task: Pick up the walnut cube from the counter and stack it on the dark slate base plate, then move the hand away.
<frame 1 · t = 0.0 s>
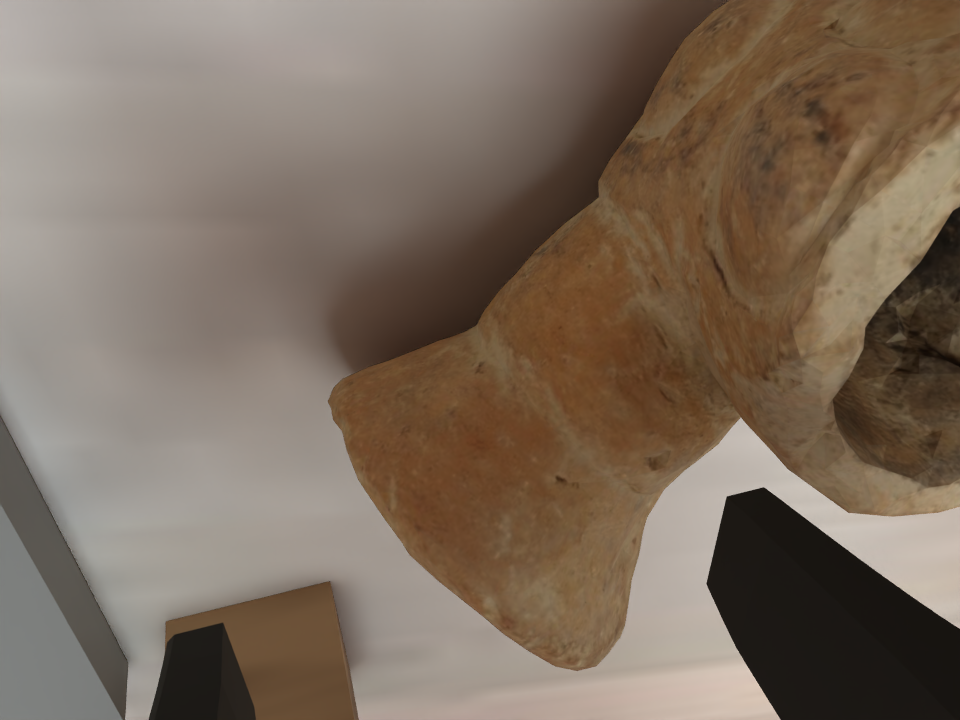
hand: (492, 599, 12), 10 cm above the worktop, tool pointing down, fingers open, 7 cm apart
walnut cube: (264, 645, 27), on the worktop
pipe: (600, 209, 21), on the worktop
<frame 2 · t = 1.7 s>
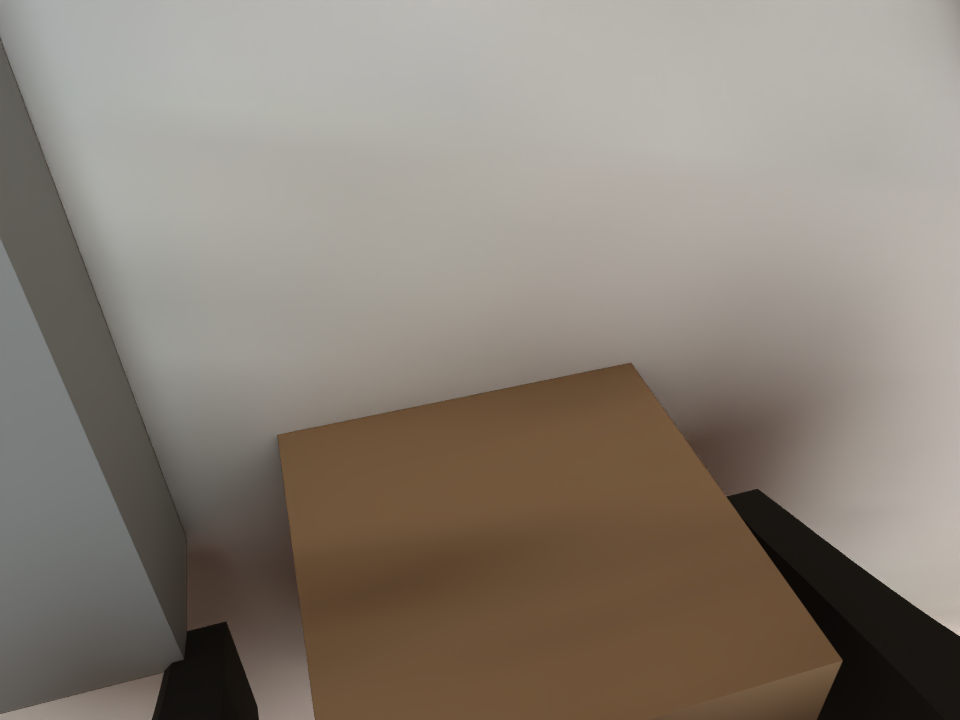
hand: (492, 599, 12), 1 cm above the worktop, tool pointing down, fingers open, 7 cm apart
walnut cube: (466, 516, 13), on the worktop
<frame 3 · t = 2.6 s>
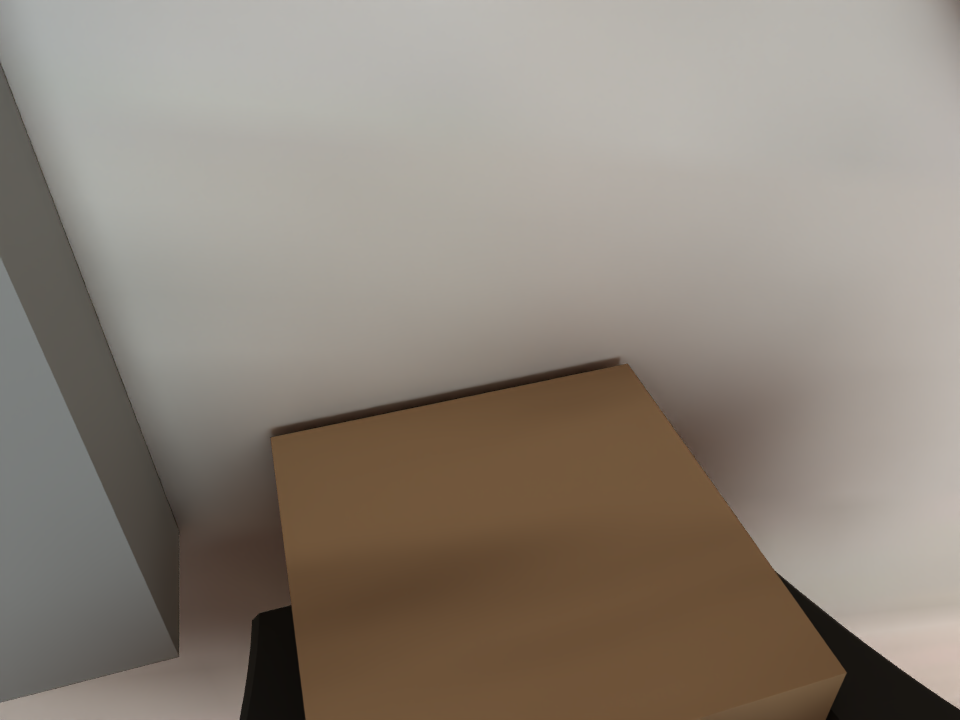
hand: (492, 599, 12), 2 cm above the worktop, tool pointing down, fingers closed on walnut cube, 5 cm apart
walnut cube: (464, 522, 13), on the worktop, touching gripper
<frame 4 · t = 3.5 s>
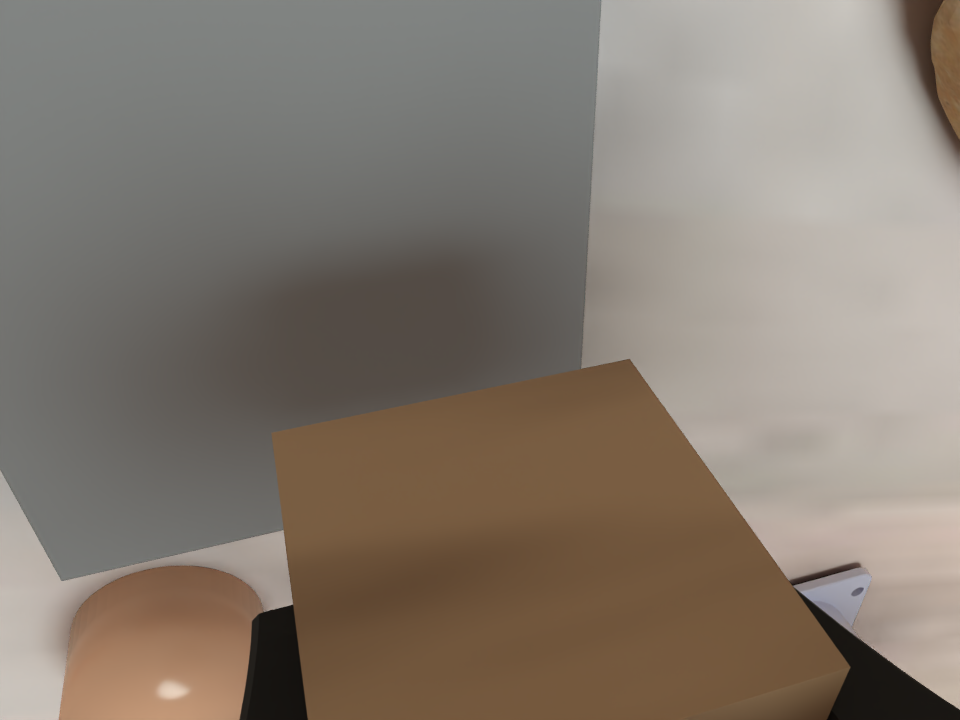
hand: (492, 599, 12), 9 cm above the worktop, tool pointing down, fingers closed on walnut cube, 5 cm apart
walnut cube: (465, 518, 13), point 7 cm above the worktop, touching gripper
slate base: (280, 253, 17), on the worktop
terracotta puck: (170, 623, 23), on the worktop
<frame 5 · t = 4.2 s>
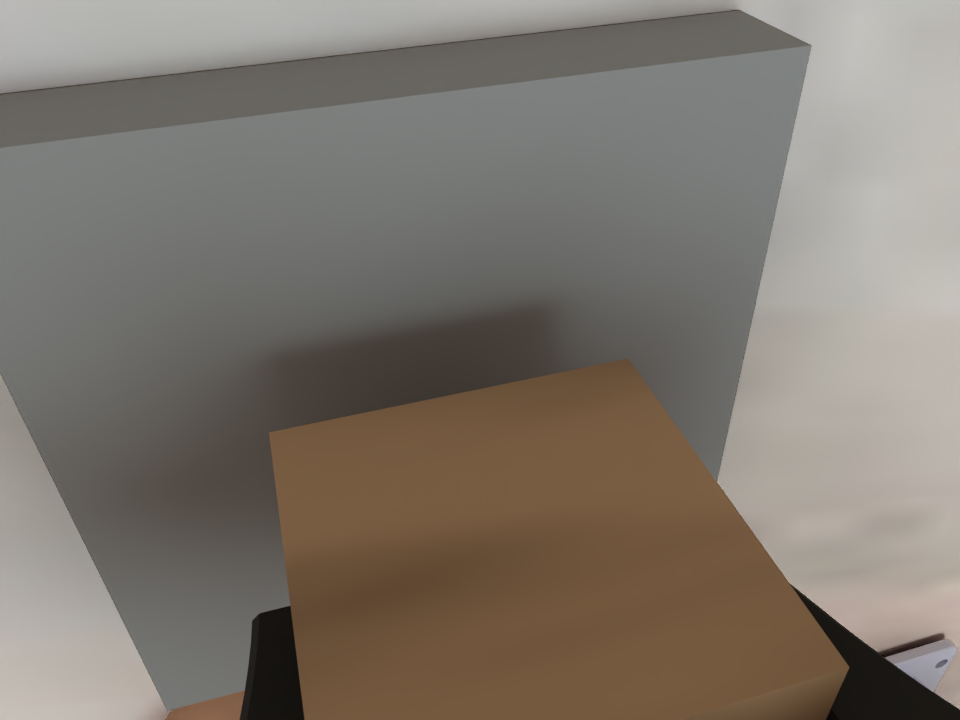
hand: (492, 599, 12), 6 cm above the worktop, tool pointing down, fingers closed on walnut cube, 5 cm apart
walnut cube: (464, 518, 13), point 4 cm above the worktop, touching gripper
slate base: (410, 367, 16), on the worktop
when the fingers open (5 cm above the worktop, at t = 4.8 s): walnut cube drops 1 cm, resting on slate base.
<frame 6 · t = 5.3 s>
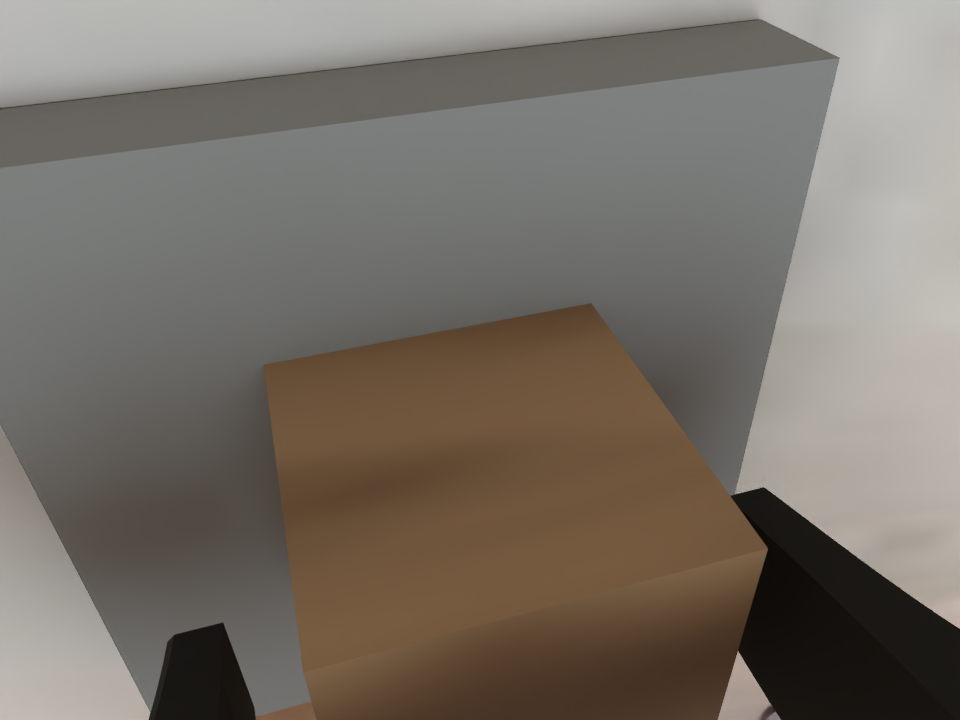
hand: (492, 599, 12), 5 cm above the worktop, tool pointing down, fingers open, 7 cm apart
walnut cube: (443, 453, 14), point 2 cm above the worktop, touching slate base
slate base: (416, 388, 15), on the worktop
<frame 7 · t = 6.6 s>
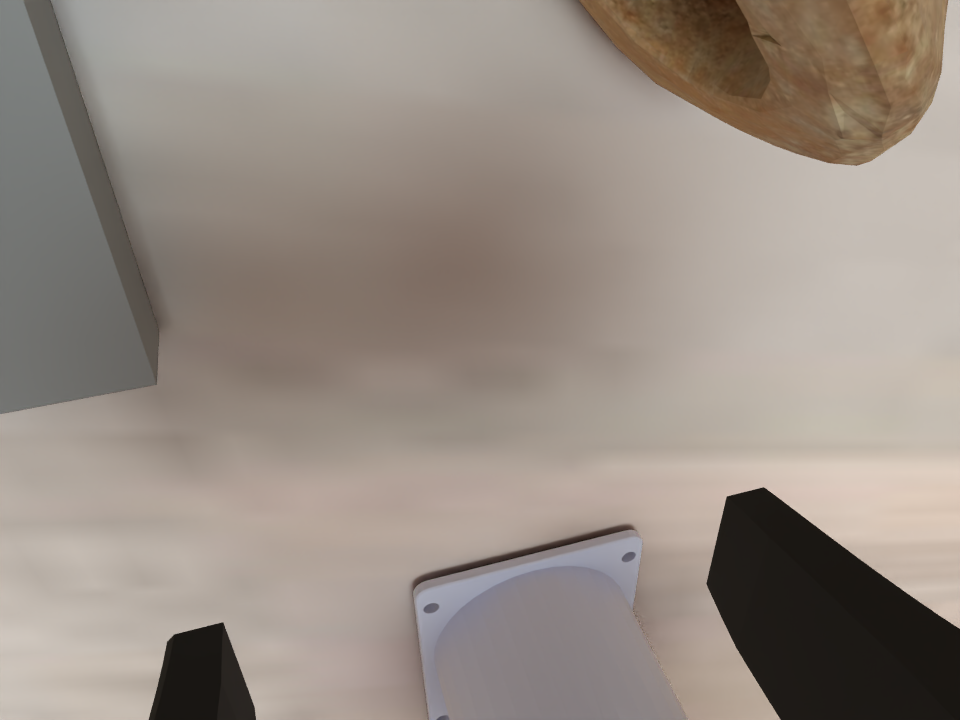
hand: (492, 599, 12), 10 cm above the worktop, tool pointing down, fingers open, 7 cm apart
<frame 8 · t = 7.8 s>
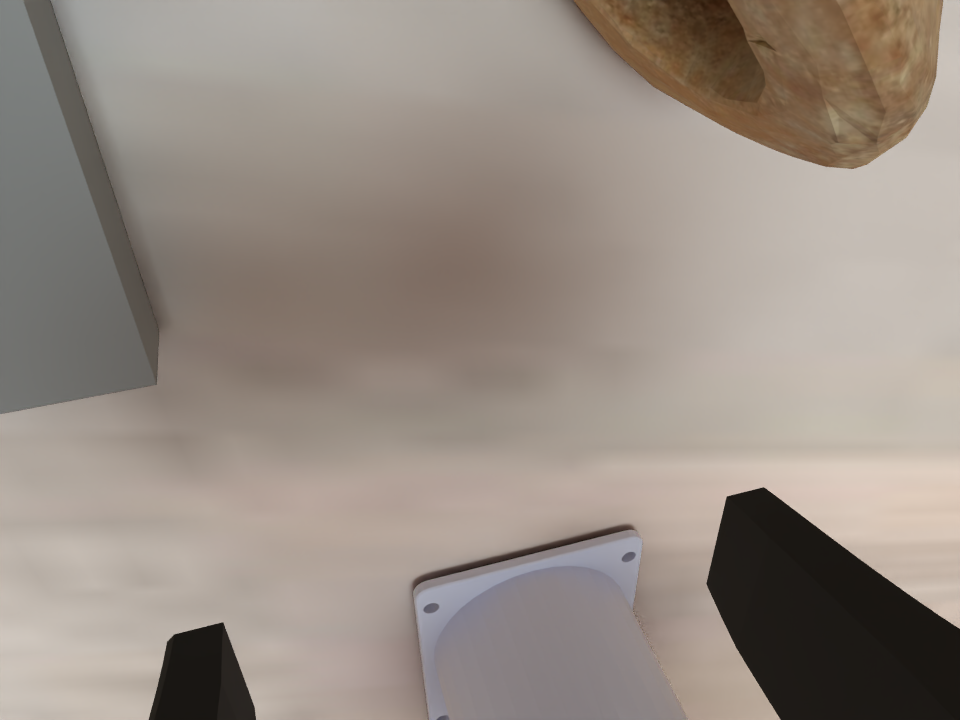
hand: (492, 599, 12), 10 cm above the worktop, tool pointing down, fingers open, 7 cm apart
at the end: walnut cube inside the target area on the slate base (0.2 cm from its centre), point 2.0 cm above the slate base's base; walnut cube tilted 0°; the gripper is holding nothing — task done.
